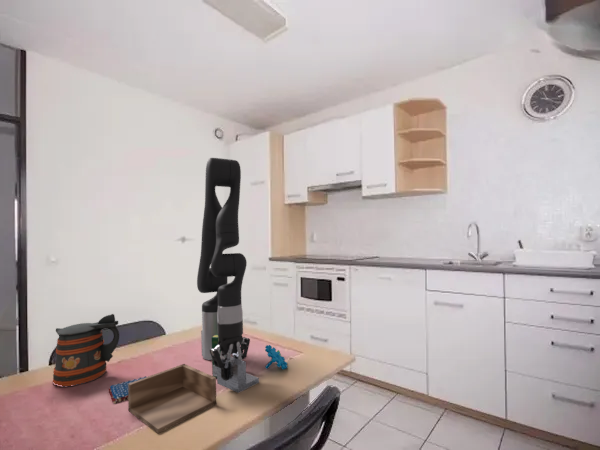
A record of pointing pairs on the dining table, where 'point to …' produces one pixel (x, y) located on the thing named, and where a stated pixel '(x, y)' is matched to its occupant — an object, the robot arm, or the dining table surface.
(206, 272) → the robot arm
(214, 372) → the coffee box
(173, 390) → the corner arena
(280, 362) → the gear
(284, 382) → the dining table surface
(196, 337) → the dining table surface
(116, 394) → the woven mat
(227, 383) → the bracket
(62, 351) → the beer stein
